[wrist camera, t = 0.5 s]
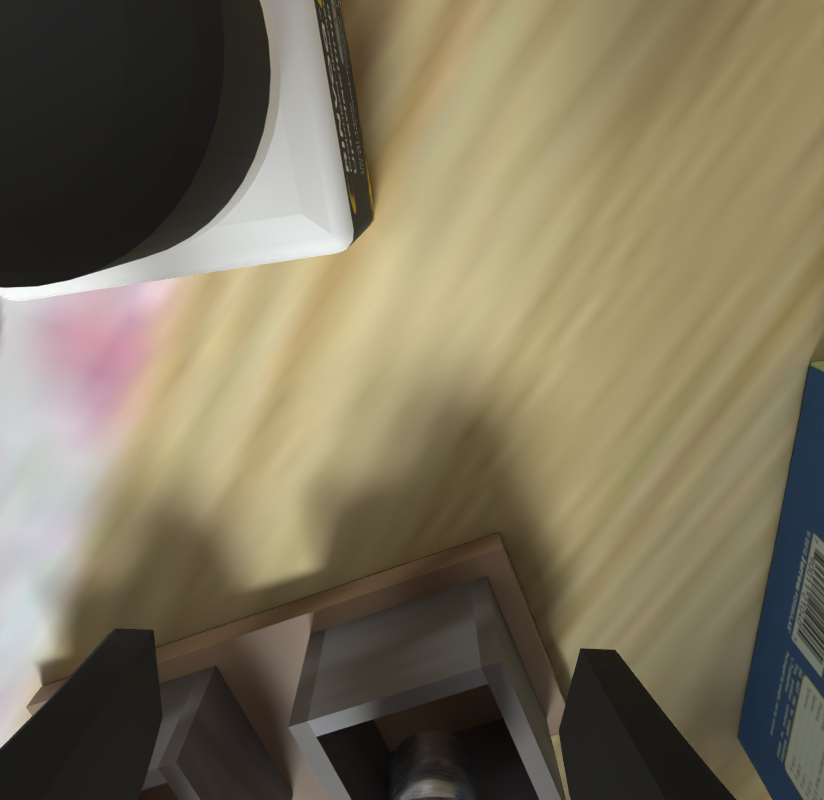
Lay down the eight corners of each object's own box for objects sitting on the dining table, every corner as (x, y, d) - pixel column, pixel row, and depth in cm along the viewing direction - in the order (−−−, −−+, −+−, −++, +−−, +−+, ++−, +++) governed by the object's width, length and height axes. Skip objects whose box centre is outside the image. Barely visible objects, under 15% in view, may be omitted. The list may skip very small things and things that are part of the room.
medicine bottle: (377, 225, 19) (317, 297, 8) (139, 261, 19) (-251, 382, 8) (331, -61, 17) (150, -558, 5) (63, -13, 17) (-630, -381, 6)
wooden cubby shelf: (498, 532, 22) (520, 629, 18) (568, 708, 25) (604, 835, 20) (41, 686, 24) (-49, 809, 20) (145, 833, 27) (87, 974, 22)
